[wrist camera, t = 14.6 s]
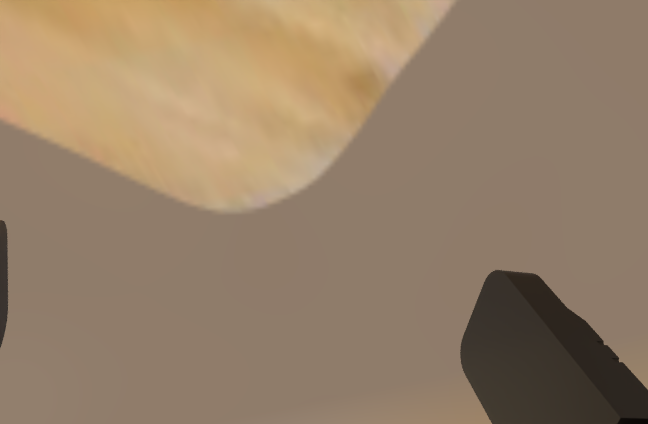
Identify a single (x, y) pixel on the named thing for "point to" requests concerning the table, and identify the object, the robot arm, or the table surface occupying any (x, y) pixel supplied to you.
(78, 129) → the table surface
